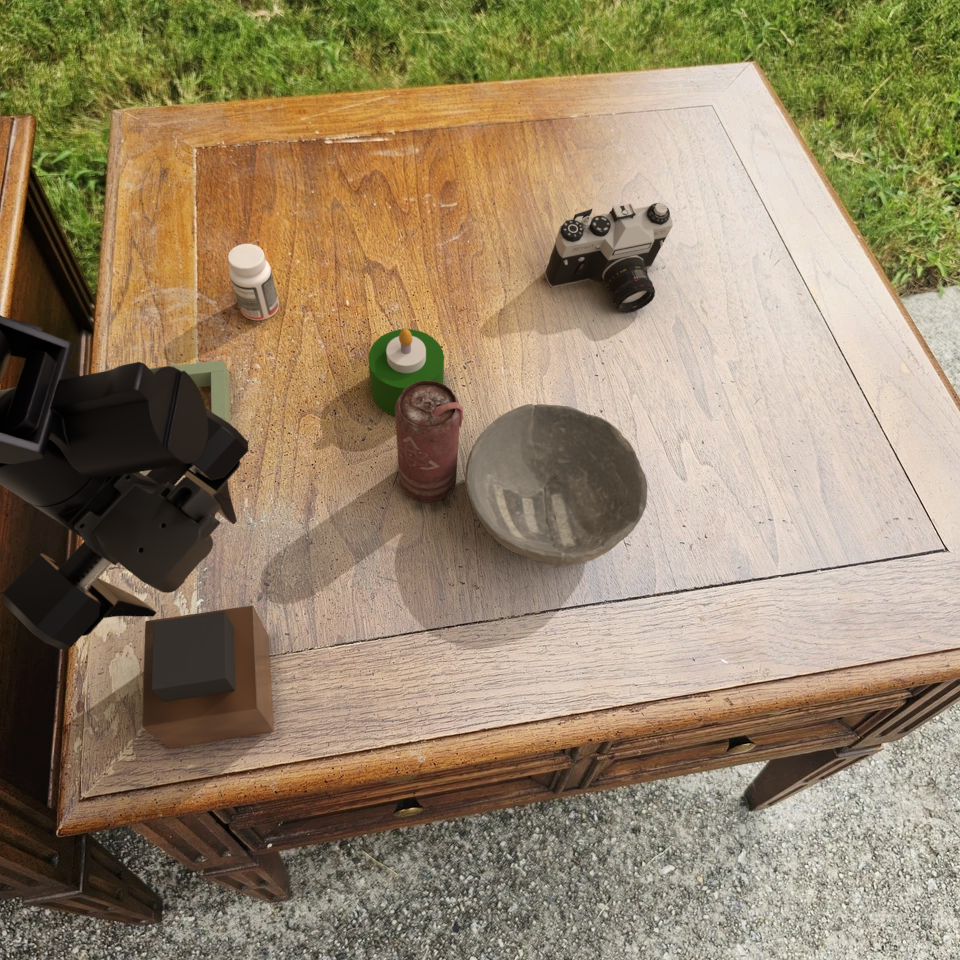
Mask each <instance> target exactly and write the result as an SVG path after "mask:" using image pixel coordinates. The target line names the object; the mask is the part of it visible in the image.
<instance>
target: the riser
mask: <svg viewBox="0 0 960 960" xmlns="http://www.w3.org/2000/svg"><path fill="white" fill-rule="evenodd" d="M218 612H225V613H226V615H227V617H228V618H229V620H230V622H231V623H232V625H233V627H234V661H235V691H231V692H224V693H218V694H212V695H206V696H199V697H193V698H187V699H181V700H174V701H168V702H164V701H163V700H162V699H161V698H160V697H159V696H158V695H157V694H155V693H154V692H153V691H152V655H153V622H157V621H164V620H171V619H177V618H184V617H191V616H198V615H205V614H212V613H218ZM143 650H144V652H143V654H144V655H143V685H142V716H141V717H142V719H141V720H142V721H141V727H142V728H143V729H144V730H145V731H147V732H148V733H149V734H150V735H152V736H153V737H154V738H156V739H157V740H158V741H159V742H161V743H162V744H163V745H165V746H166V747H167V748H168V749H170V750H172V749H177V748H185V747H189V746H196V745H201V744H208V743H213V742H219V741H225V740H231V739H237V738H238V739H239V738H243V737H248V736H255V735H260V734H267V733H272V732H275V728H274V727H275V725H274V723H275V722H274V708H273V707H274V706H273V705H274V704H273V688H272V687H273V686H272V669H271V668H272V667H271V666H272V665H271V646H270V636H269V634H268V632H267V631H266V628H265V626H264V624H263V622H262V621H261V618H260V615H259V614H258V611H257V610H256V608H255V606H254V605H253V604H252V605H246V606H245V605H244V606H240V607H232V608H226V609H218V610H212V611H211V610H210V611H204V612H199V613H193V614H192V613H191V614H184V615H178V616H171V617H170V616H169V617H164V618H156V619H150V620H149V619H148V620H145V621H144V649H143Z"/></svg>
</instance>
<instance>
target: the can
mask: <svg viewBox="0 0 960 960" xmlns="http://www.w3.org/2000/svg"><path fill="white" fill-rule="evenodd" d="M394 417H395V418H394V419H395V432H396V433H395V435H396V450H397V452H396V453H397V466H398V467H397V468H398V469H397V470H398V480H399V485H400V487H401V489H402V491H403V493H405V494H406V495H407V496H408V497H409V498H410V499H413V500H415V501H418V502H422V503H433V502H438V501H440V500H442V499H444V498H446V497H448V495H449V494H451V493H452V491H453V489H454V487H455V486H456V481H457V474H458V473H457V470H458V459H459V458H458V455H459V440H460V439H459V438H460V428H461V427H462V424H463V421H464V408H463V406H462V405H461V403H460V401H459V399H458V398H457V397H456V395H455V393H454V392H453V391H452V389H451V388H449V387H448V386H447V385H445V384H444V383H443V384H441V383H439V382H436V381H429V380H427V381H419V382H416V383H414V384H411V385H410V386H408V387H407V388H406V389H404V391H403V392H402V394H401V395H400V397H399V398H398V400H397V402H396V406H395V416H394Z"/></svg>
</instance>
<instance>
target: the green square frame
mask: <svg viewBox="0 0 960 960" xmlns="http://www.w3.org/2000/svg"><path fill="white" fill-rule="evenodd" d="M170 366H171V367H175V368H177V369H178V370H180V371H185V372H186V373H187V374H188V375H189V376H190V377H191V378H192V380H193V381H194V382H195V384H196V386H197V388H198V389H199V388H206V387H208V388H209V387H210V398H211V399H210V404H211V405H210V407H211V409H210V411H211V412H212V413H214V414H215V415H217V416H219V417H220V418H222V419H223V420H225V421H226V422H228V423H229V424H231V394H230V393H231V392H230V373H229V369H228V368H227V367H228V366H227V364H226V361H225V360H216V361H215V360H214V361H205V362H204V361H203V362H194V363H186V364H175V365H170ZM160 367H161V366H159V367H158V366H157V367H156V366H155V367H148V368H149V369H154V368H160ZM231 425H232V424H231Z"/></svg>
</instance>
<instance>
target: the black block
mask: <svg viewBox="0 0 960 960" xmlns="http://www.w3.org/2000/svg"><path fill="white" fill-rule="evenodd" d="M152 691H153V692H154V693H155V694H157V695H158V696H159V697H160V698H161V699H162V700H163V701H164V702H168V701H174V700H181V699H187V698H193V697H199V696H206V695H212V694H218V693H224V692H231V691H235V661H234V627H233V625H232V623H231V622H230V620H229V618H228V617H227V615H226V613H225V612H218V613H212V614H205V615H198V616H191V617H184V618H177V619H171V620H164V621H157V622H153V655H152Z"/></svg>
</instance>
